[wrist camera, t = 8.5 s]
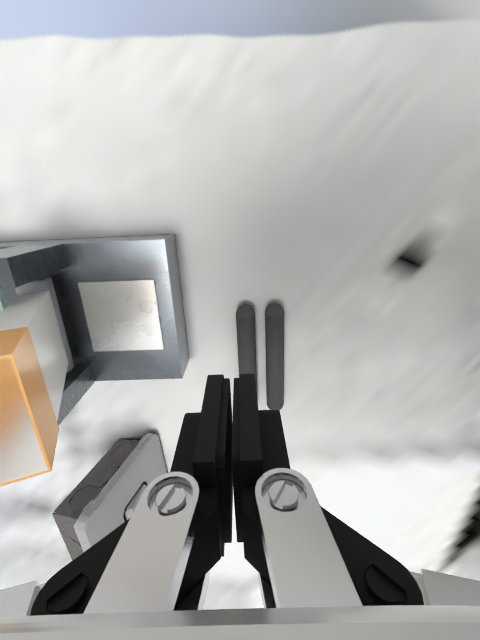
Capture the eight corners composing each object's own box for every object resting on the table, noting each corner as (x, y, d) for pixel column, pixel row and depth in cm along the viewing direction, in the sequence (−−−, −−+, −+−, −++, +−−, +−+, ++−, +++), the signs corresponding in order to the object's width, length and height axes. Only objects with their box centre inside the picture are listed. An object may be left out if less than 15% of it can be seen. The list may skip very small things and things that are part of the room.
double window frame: (174, 234, 23) (139, 252, 15) (189, 359, 26) (166, 423, 19) (-96, 246, 23) (-257, 269, 16) (-46, 366, 27) (-158, 430, 19)
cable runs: (282, 301, 24) (284, 306, 23) (282, 404, 28) (284, 414, 26) (235, 302, 24) (235, 308, 23) (241, 405, 28) (240, 415, 26)
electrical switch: (176, 502, 32) (138, 614, 24) (128, 500, 33) (74, 608, 24) (158, 427, 29) (107, 525, 20) (105, 427, 30) (35, 522, 21)
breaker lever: (53, 274, 21) (11, 339, 11) (75, 359, 23) (57, 479, 13) (17, 278, 20) (-64, 352, 10) (43, 366, 22) (-2, 497, 12)
